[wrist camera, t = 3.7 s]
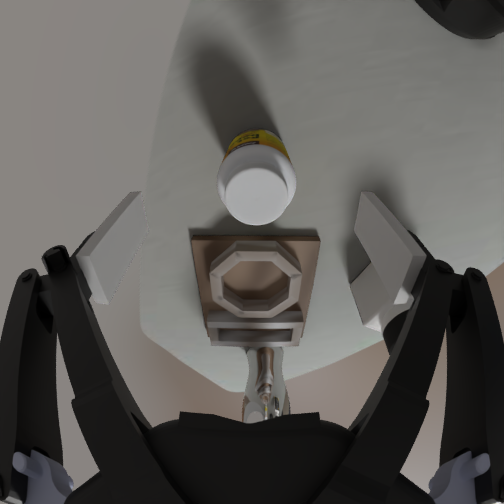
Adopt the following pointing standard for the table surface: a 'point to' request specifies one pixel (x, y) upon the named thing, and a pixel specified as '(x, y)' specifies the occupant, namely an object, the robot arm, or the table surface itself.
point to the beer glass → (265, 386)
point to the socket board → (255, 287)
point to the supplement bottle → (256, 177)
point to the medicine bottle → (379, 306)
